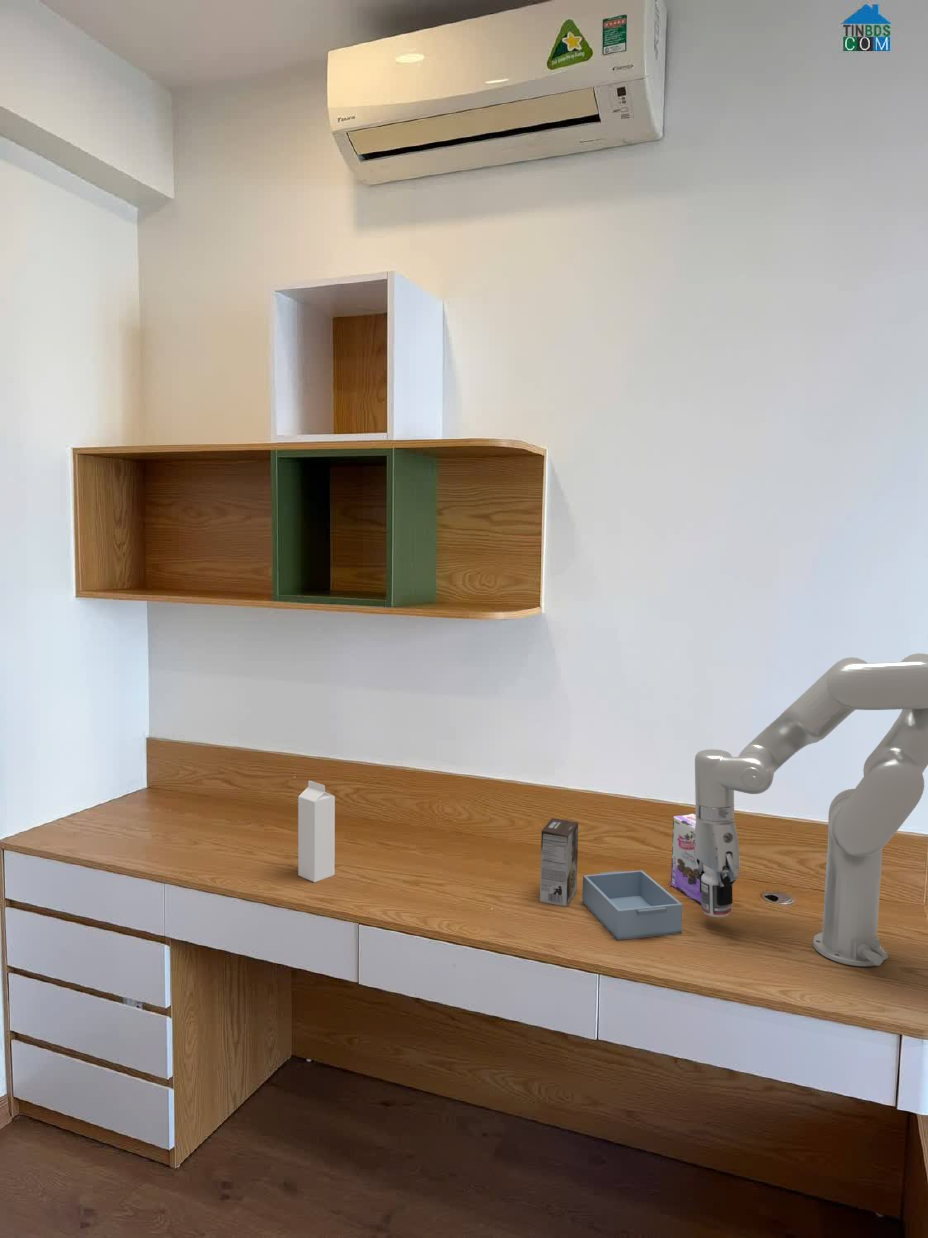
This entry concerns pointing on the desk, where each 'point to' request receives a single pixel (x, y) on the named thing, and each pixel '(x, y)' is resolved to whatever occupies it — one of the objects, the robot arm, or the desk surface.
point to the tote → (631, 904)
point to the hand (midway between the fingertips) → (715, 897)
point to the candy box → (685, 857)
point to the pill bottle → (712, 894)
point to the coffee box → (559, 862)
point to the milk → (316, 833)
